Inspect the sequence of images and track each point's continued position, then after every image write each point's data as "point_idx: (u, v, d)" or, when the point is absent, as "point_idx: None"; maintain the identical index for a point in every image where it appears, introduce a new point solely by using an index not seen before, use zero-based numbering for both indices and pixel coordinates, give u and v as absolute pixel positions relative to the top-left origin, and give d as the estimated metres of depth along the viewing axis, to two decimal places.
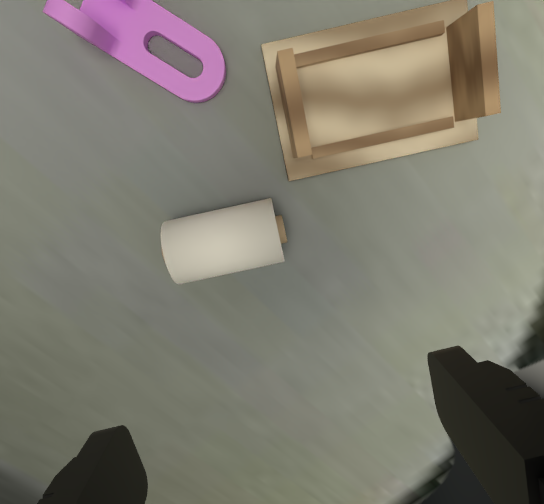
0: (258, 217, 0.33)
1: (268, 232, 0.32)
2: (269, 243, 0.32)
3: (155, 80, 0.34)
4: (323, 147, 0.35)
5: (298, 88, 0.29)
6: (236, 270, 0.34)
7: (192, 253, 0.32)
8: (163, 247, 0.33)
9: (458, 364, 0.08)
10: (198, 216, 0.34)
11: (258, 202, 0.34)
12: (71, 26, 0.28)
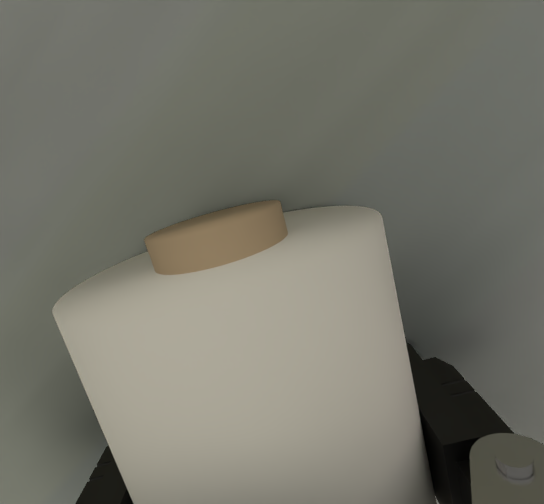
0: None
1: None
2: None
3: None
4: None
5: None
6: None
7: (262, 475, 0.05)
8: (291, 290, 0.05)
9: None
10: None
11: None
12: None
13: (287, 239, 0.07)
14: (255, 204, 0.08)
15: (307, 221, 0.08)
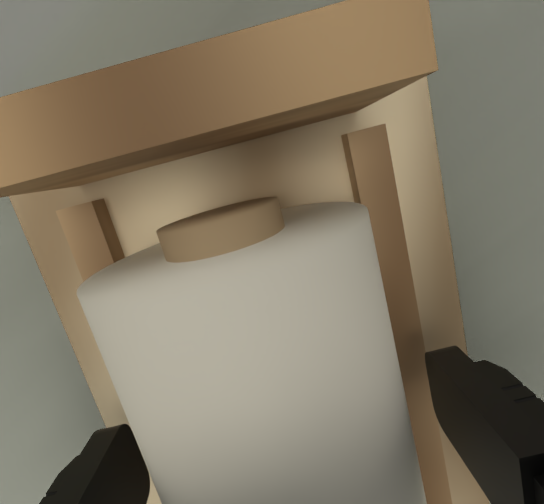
0: None
1: None
2: None
3: None
4: (97, 243, 0.10)
5: (242, 112, 0.06)
6: None
7: (258, 432, 0.06)
8: (283, 272, 0.05)
9: (455, 364, 0.08)
10: (399, 368, 0.08)
11: None
12: None
13: (283, 231, 0.07)
14: (255, 200, 0.08)
15: (303, 215, 0.09)
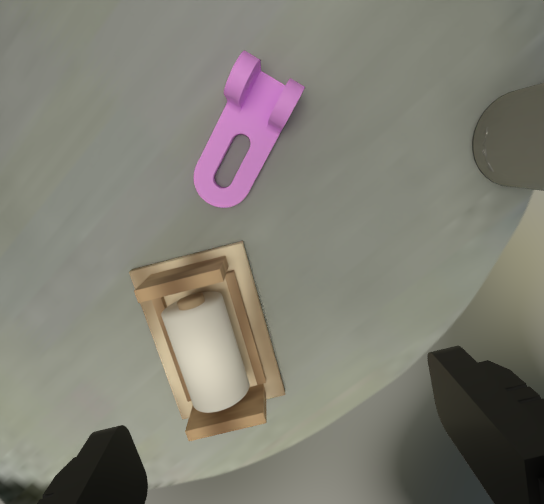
0: (233, 390, 0.36)
1: (220, 402, 0.36)
2: (210, 403, 0.36)
3: (208, 143, 0.36)
4: (159, 301, 0.39)
5: (191, 288, 0.34)
6: (181, 369, 0.37)
7: (195, 340, 0.34)
8: (198, 314, 0.34)
9: (458, 364, 0.08)
10: (229, 332, 0.37)
11: (245, 379, 0.38)
12: (228, 81, 0.30)
13: (203, 303, 0.36)
14: (199, 294, 0.37)
15: (210, 297, 0.37)
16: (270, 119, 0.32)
